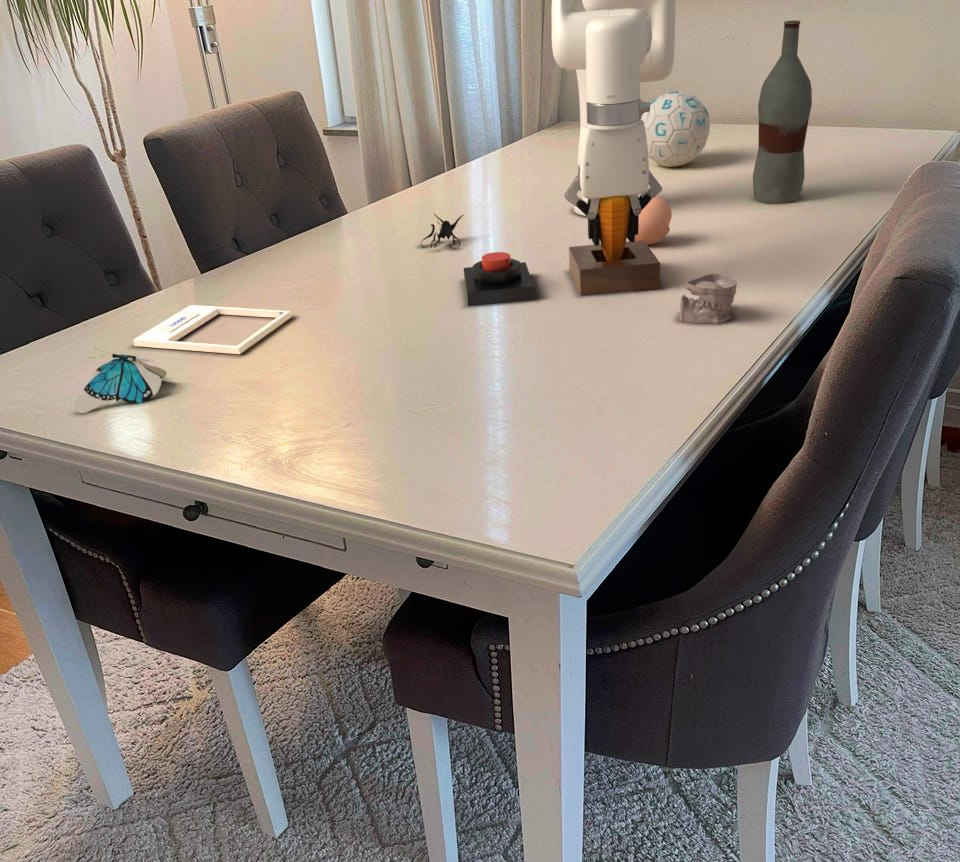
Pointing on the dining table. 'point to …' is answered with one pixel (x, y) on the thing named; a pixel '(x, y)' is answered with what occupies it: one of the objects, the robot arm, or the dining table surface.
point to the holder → (614, 269)
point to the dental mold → (708, 299)
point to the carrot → (613, 225)
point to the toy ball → (654, 221)
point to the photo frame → (198, 315)
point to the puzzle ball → (676, 128)
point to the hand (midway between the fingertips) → (613, 240)
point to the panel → (498, 284)
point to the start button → (496, 261)
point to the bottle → (783, 125)
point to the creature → (443, 231)
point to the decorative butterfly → (120, 383)
